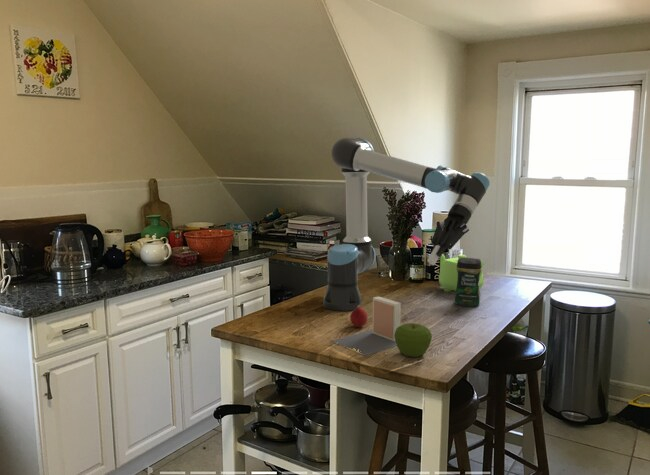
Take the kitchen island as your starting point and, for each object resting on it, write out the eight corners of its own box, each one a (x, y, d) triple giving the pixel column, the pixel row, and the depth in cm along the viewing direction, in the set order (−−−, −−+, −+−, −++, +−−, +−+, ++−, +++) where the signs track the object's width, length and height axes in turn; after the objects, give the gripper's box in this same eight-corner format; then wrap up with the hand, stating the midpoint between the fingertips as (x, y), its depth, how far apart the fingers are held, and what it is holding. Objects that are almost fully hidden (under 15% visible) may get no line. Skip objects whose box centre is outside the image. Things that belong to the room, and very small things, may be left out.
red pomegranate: (362, 332, 181) (362, 309, 180) (347, 329, 184) (347, 306, 183) (370, 327, 186) (370, 304, 185) (355, 324, 189) (355, 302, 188)
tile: (377, 331, 180) (378, 296, 178) (399, 339, 172) (400, 303, 170) (371, 333, 178) (372, 297, 176) (393, 341, 170) (394, 304, 169)
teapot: (501, 292, 233) (503, 255, 230) (467, 299, 221) (469, 261, 218) (457, 280, 253) (458, 247, 251) (423, 287, 241) (424, 252, 239)
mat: (384, 327, 186) (384, 326, 186) (419, 340, 173) (419, 338, 173) (330, 342, 171) (330, 341, 171) (364, 357, 158) (364, 355, 158)
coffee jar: (453, 305, 212) (455, 259, 209) (455, 300, 220) (457, 255, 217) (479, 308, 209) (481, 260, 206) (480, 302, 216) (482, 257, 214)
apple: (393, 361, 156) (393, 328, 154) (394, 348, 166) (395, 317, 164) (431, 364, 154) (432, 330, 152) (430, 350, 164) (431, 319, 163)
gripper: (482, 218, 189) (450, 272, 181) (451, 215, 199) (420, 266, 191) (473, 204, 185) (441, 258, 177) (443, 202, 195) (410, 253, 187)
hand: (430, 262), depth 184 cm, fingers closed
